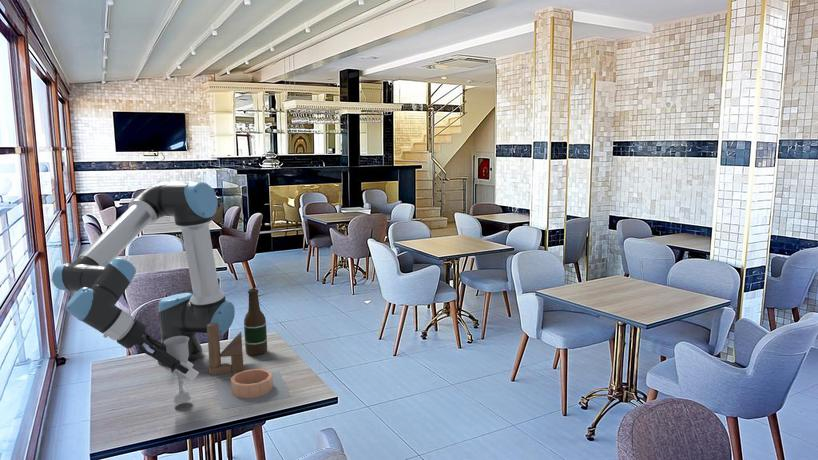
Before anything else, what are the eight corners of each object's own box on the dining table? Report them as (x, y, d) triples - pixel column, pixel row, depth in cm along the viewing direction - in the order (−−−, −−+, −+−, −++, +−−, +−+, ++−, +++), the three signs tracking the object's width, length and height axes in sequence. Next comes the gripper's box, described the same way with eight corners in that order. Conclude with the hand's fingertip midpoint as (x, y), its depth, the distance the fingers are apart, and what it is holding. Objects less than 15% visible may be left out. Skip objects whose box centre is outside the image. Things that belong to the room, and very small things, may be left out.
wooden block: (243, 375, 186) (240, 323, 183) (209, 379, 183) (205, 326, 180) (243, 371, 189) (240, 320, 186) (210, 375, 186) (206, 323, 184)
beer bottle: (245, 357, 201) (241, 292, 198) (246, 349, 209) (242, 287, 205) (267, 355, 203) (264, 291, 200) (267, 347, 211) (264, 285, 207)
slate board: (216, 386, 177) (215, 382, 177) (279, 376, 185) (279, 371, 185) (221, 414, 159) (220, 409, 159) (291, 401, 167) (291, 396, 166)
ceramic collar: (230, 385, 175) (229, 372, 174) (269, 378, 179) (268, 366, 179) (234, 401, 164) (233, 388, 163) (275, 393, 168) (274, 381, 168)
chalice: (169, 395, 164) (164, 337, 161) (194, 392, 166) (189, 334, 163) (168, 407, 157) (162, 346, 154) (193, 403, 160) (188, 343, 157)
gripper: (111, 331, 158) (177, 371, 170) (119, 352, 142) (191, 395, 154) (130, 309, 160) (194, 351, 171) (140, 328, 144) (209, 372, 156)
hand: (192, 372), depth 163 cm, fingers closed on chalice, 6 cm apart
